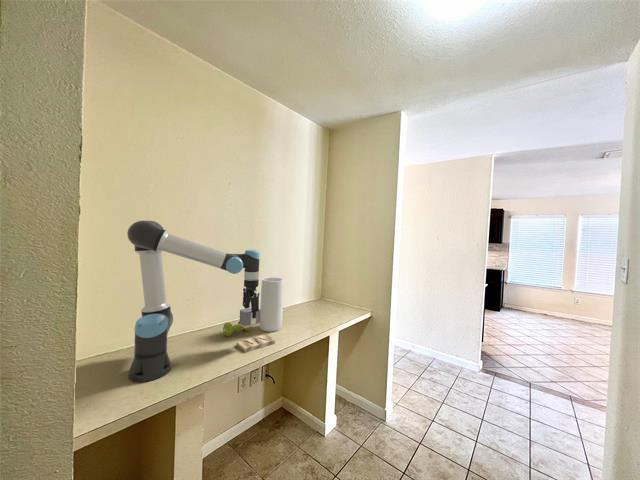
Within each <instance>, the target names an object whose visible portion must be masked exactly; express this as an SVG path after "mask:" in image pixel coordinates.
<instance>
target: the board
mask: <svg viewBox="0 0 640 480" xmlns="http://www.w3.org/2000/svg"><path fill="white" fill-rule="evenodd" d="M275 344H276V339H275V338H273V337H271V336H270V335H268V334H266V333H265V334H261V335H258V336H254V337H253V336H252V337H249V338H246V339H243V340H239V341H236V346H237V347H238V348H239V349H240V350H241V351H243V352H244V353H248V352H251V351H255V350H257V349H262V348H265V347H268V346H271V345H275Z"/></svg>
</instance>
